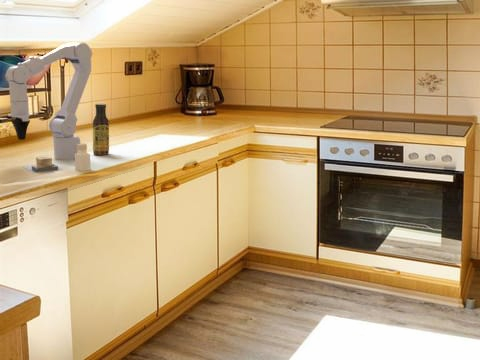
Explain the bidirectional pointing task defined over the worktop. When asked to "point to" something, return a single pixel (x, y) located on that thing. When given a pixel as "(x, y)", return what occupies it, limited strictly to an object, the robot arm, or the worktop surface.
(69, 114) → the robot arm
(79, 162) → the pepper shaker
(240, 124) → the worktop surface
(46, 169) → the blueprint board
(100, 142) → the sauce bottle
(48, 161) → the maple block
